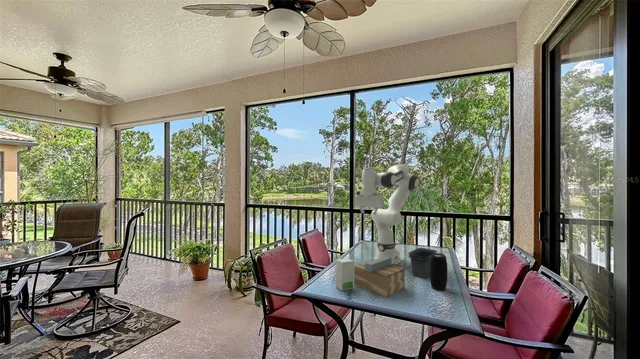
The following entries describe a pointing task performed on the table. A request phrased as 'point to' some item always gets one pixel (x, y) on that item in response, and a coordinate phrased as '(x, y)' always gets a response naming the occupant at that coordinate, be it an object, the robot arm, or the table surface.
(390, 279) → the box
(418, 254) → the storage bin
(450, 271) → the table surface
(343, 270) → the skincare box
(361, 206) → the robot arm
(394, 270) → the lid
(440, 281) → the portable speaker
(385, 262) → the grey rectangular bar
